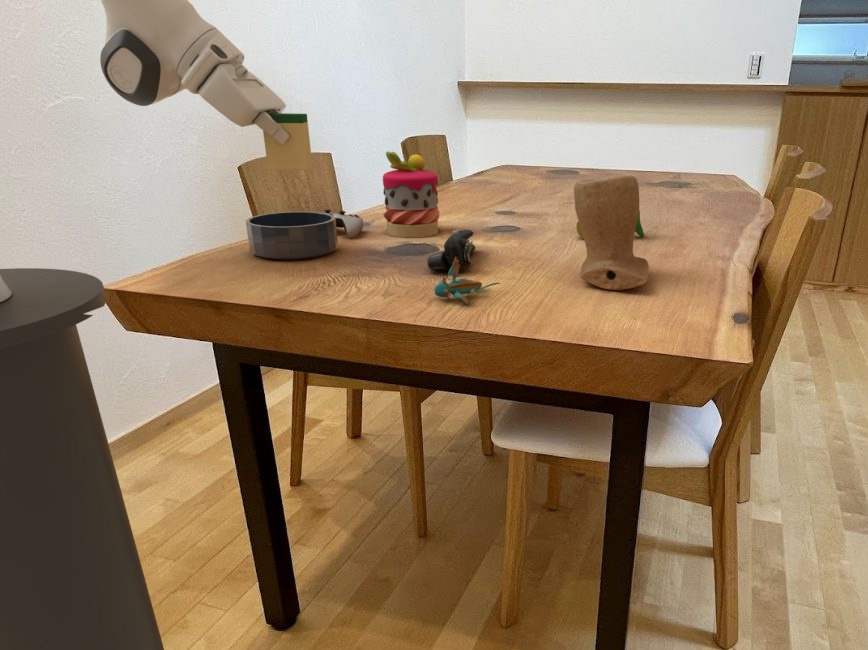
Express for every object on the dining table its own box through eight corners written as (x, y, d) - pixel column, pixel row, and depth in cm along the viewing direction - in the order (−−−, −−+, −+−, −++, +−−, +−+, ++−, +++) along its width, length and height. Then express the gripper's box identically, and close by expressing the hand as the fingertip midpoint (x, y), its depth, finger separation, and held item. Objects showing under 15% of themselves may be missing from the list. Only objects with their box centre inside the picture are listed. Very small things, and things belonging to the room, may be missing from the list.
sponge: (268, 170, 102) (260, 114, 99) (274, 167, 106) (267, 113, 102) (307, 170, 103) (301, 114, 99) (312, 167, 106) (306, 113, 103)
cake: (418, 224, 135) (415, 147, 129) (450, 232, 128) (449, 151, 122) (374, 231, 129) (369, 150, 123) (406, 240, 122) (401, 154, 116)
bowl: (252, 264, 104) (247, 229, 101) (249, 245, 116) (244, 214, 113) (344, 257, 109) (341, 224, 106) (331, 240, 121) (328, 209, 118)
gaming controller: (297, 229, 124) (310, 198, 126) (313, 248, 129) (325, 218, 131) (350, 234, 120) (362, 202, 123) (364, 253, 126) (375, 222, 128)
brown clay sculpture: (575, 264, 107) (581, 167, 101) (650, 269, 104) (660, 170, 98) (560, 289, 93) (564, 179, 87) (645, 296, 91) (656, 183, 85)
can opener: (468, 277, 99) (467, 240, 96) (422, 275, 100) (421, 237, 97) (490, 251, 115) (490, 218, 112) (451, 249, 115) (450, 216, 113)
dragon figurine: (447, 277, 94) (424, 267, 87) (494, 260, 92) (474, 249, 85) (459, 320, 94) (436, 315, 86) (506, 305, 92) (487, 298, 84)
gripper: (224, 84, 108) (292, 148, 112) (176, 84, 89) (261, 160, 94) (248, 54, 106) (316, 120, 111) (205, 48, 88) (289, 127, 92)
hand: (291, 139), depth 102 cm, fingers closed on sponge, 4 cm apart
